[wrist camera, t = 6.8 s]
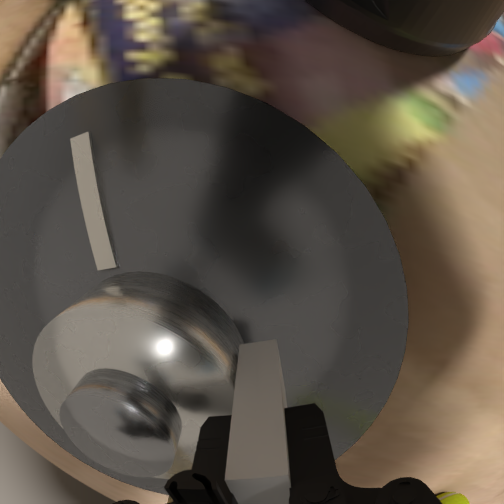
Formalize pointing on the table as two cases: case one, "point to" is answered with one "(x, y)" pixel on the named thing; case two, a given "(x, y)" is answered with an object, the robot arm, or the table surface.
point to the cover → (138, 371)
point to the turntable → (203, 239)
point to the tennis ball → (452, 498)
